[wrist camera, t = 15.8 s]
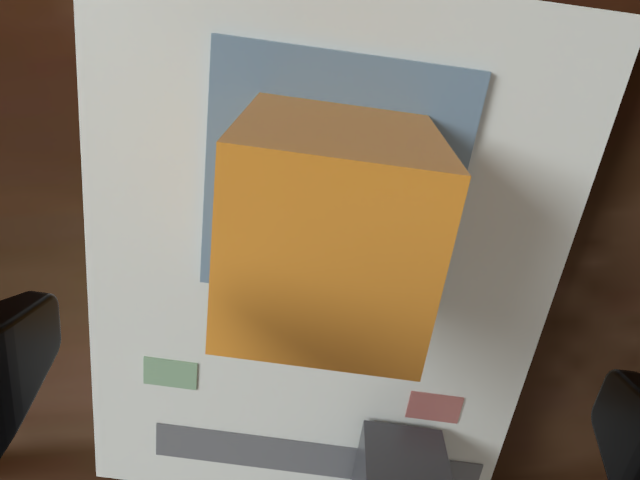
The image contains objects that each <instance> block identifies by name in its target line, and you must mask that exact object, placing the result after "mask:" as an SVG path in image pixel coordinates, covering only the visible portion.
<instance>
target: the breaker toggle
mask: <svg viewBox="0 0 640 480" xmlns="http://www.w3.org/2000/svg"><path fill="white" fill-rule="evenodd" d="M351 480H453V476H452V472H451V467H450V463H449V459H448V454H447V450H446V445H445V441H444V437H443V432H442V430H438V429H430V428H422V427H414V426H406V425H399V424H391V423H383V422H375V421H368V420H364V421H363V426H362V431H361V435H360V440H359V445H358V450H357V455H356V460H355V465H354V469H353V474H352V479H351Z"/></svg>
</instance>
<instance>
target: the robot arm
mask: <svg viewBox="0 0 640 480" xmlns="http://www.w3.org/2000/svg"><path fill="white" fill-rule="evenodd" d="M60 343H61V329H60V316H59V304H58V300H57V297H55V296H54V295H53V294H50V293H42V292H35V291H28V292H24V293H21V294H19V295H16V296H13V297H10V298H7V299H4V300H1V301H0V458H1V456H2V455H3V453H4V452H5V450H6V449H7V447H8V446H9V444H10V443H11V441H12V439H13V438H14V436H15V434H16V433H17V431H18V429H19V427H20V426H21V424H22V422H23V420H24V418H25V416H26V414H27V412H28V410H29V408H30V406H31V404H32V402H33V400H34V398H35V397H36V395H37V393H38V391H39V389H40V387H41V385H42V383H43V381H44V379H45V377H46V375H47V373H48V371H49V369H50V367H51V365H52V363H53V361H54V359H55V357H56V355H57V353H58V351H59V348H60ZM591 420H592V426H593V429H594V432H595V436H596V439H597V443H598V446H599V450H600V453H601V457H602V460H603V464H604V467H605V471H606V474H607V477H608V480H640V373H638V372H633V371H626V370H618V369H614V370H611V371H610V372H609V373H608V374H607V375H606V377H605V379H604V381H603V384H602V386H601V389H600V391H599V393H598V396H597V398H596V400H595V403H594V405H593V408H592V413H591Z"/></svg>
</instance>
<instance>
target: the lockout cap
mask: <svg viewBox="0 0 640 480" xmlns="http://www.w3.org/2000/svg"><path fill="white" fill-rule="evenodd" d="M470 180H471V175H470V174H469V172H468V171H467V169H466V168H465V167H464V165H463V164H462V162H461V161H460V159H459V158H458V157H457V155H456V154H455V152H454V151H453V150H452V148H451V147H450V145H449V144H448V142H447V141H446V140H445V138H444V137H443V135H442V134H441V133H440V131H439V130H438V128H437V127H436V125H435V124H434V123H433V121H432V120H431V118H430V117H429V116H428V115H422V114H414V113H407V112H400V111H393V110H385V109H378V108H371V107H363V106H356V105H349V104H341V103H334V102H327V101H320V100H312V99H305V98H298V97H290V96H283V95H276V94H268V93H261V92H259V93H258V94H257V96H256V97H255V98H254V99H253V100H252V101H251V103H250V104H249V105H248V106H247V107H246V108H245V109H244V111H243V112H242V113H241V114H240V115H239V116H238V117H237V119H236V120H235V121H234V122H233V123H232V124H231V126H230V127H229V128H228V129H227V130H226V131H225V132H224V134H223V135H222V136H221V137H220V138H219V139H218V141H217V142H216V160H215V179H214V198H213V217H212V236H211V255H210V274H209V293H208V311H207V330H206V349H205V354H208V355H215V356H223V357H231V358H239V359H246V360H254V361H262V362H270V363H277V364H285V365H293V366H300V367H308V368H316V369H324V370H331V371H339V372H347V373H355V374H362V375H370V376H378V377H386V378H393V379H401V380H409V381H417V382H420V380H421V376H422V372H423V368H424V364H425V360H426V356H427V352H428V348H429V344H430V340H431V336H432V332H433V328H434V324H435V320H436V316H437V312H438V308H439V304H440V300H441V296H442V292H443V288H444V284H445V280H446V276H447V272H448V268H449V264H450V260H451V256H452V252H453V248H454V244H455V240H456V236H457V232H458V228H459V224H460V220H461V216H462V212H463V208H464V204H465V200H466V196H467V192H468V188H469V184H470Z"/></svg>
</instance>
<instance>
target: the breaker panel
mask: <svg viewBox="0 0 640 480" xmlns="http://www.w3.org/2000/svg"><path fill="white" fill-rule="evenodd" d="M74 21H75V42H76V62H77V83H78V104H79V125H80V146H81V166H82V187H83V208H84V229H85V250H86V270H87V291H88V312H89V333H90V354H91V374H92V395H93V416H94V437H95V458H96V476H99V477H107V478H115V479H123V480H351V479H352V474H353V469H354V465H355V460H356V455H357V450H358V445H359V440H360V435H361V431H362V426H363V421H364V420H368V421H375V422H383V423H391V424H399V425H406V426H414V427H422V428H430V429H438V430H442V432H443V437H444V441H445V445H446V450H447V454H448V459H449V463H450V467H451V472H452V476H453V480H491V477H492V474H493V472H494V469H495V466H496V463H497V460H498V457H499V454H500V451H501V448H502V445H503V443H504V440H505V437H506V434H507V431H508V428H509V425H510V422H511V419H512V416H513V413H514V411H515V408H516V405H517V402H518V399H519V396H520V393H521V390H522V387H523V384H524V382H525V379H526V376H527V373H528V370H529V367H530V364H531V361H532V358H533V355H534V353H535V350H536V347H537V344H538V341H539V338H540V335H541V332H542V329H543V326H544V324H545V321H546V318H547V315H548V312H549V309H550V306H551V303H552V300H553V297H554V295H555V292H556V289H557V286H558V283H559V280H560V277H561V274H562V271H563V268H564V266H565V263H566V260H567V257H568V254H569V251H570V248H571V245H572V242H573V239H574V237H575V234H576V231H577V228H578V225H579V222H580V219H581V216H582V213H583V210H584V208H585V205H586V202H587V199H588V196H589V193H590V190H591V187H592V184H593V181H594V179H595V176H596V173H597V170H598V167H599V164H600V161H601V158H602V155H603V152H604V150H605V147H606V144H607V141H608V138H609V135H610V132H611V129H612V126H613V123H614V121H615V118H616V115H617V112H618V109H619V106H620V103H621V100H622V97H623V94H624V92H625V89H626V86H627V83H628V80H629V77H630V74H631V71H632V68H633V65H634V63H635V60H636V57H637V54H638V51H639V48H640V15H638V14H631V13H624V12H617V11H610V10H603V9H596V8H589V7H582V6H575V5H568V4H561V3H554V2H547V1H539V0H74ZM259 92H261V93H268V94H276V95H283V96H290V97H298V98H305V99H312V100H320V101H327V102H334V103H341V104H349V105H356V106H363V107H371V108H378V109H385V110H393V111H400V112H407V113H414V114H422V115H428V116H429V117H430V118H431V120H432V121H433V123H434V124H435V125H436V127H437V128H438V130H439V131H440V133H441V134H442V135H443V137H444V138H445V140H446V141H447V142H448V144H449V145H450V147H451V148H452V150H453V151H454V152H455V154H456V155H457V157H458V158H459V159H460V161H461V162H462V164H463V165H464V167H465V168H466V169H467V171H468V172H469V174H470V175H471V180H470V184H469V188H468V192H467V196H466V200H465V204H464V208H463V212H462V216H461V220H460V224H459V228H458V232H457V236H456V240H455V244H454V248H453V252H452V256H451V260H450V264H449V268H448V272H447V276H446V280H445V284H444V288H443V292H442V296H441V300H440V304H439V308H438V312H437V316H436V320H435V324H434V328H433V332H432V336H431V340H430V344H429V348H428V352H427V356H426V360H425V364H424V368H423V372H422V376H421V380H420V382H417V381H409V380H401V379H393V378H386V377H378V376H370V375H362V374H355V373H347V372H339V371H331V370H324V369H316V368H308V367H300V366H293V365H285V364H277V363H270V362H262V361H254V360H246V359H239V358H231V357H223V356H215V355H208V354H205V349H206V330H207V311H208V293H209V274H210V255H211V236H212V217H213V198H214V179H215V160H216V142H217V141H218V139H219V138H220V137H221V136H222V135H223V134H224V132H225V131H226V130H227V129H228V128H229V127H230V126H231V124H232V123H233V122H234V121H235V120H236V119H237V117H238V116H239V115H240V114H241V113H242V112H243V111H244V109H245V108H246V107H247V106H248V105H249V104H250V103H251V101H252V100H253V99H254V98H255V97H256V96H257V94H258V93H259Z"/></svg>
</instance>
